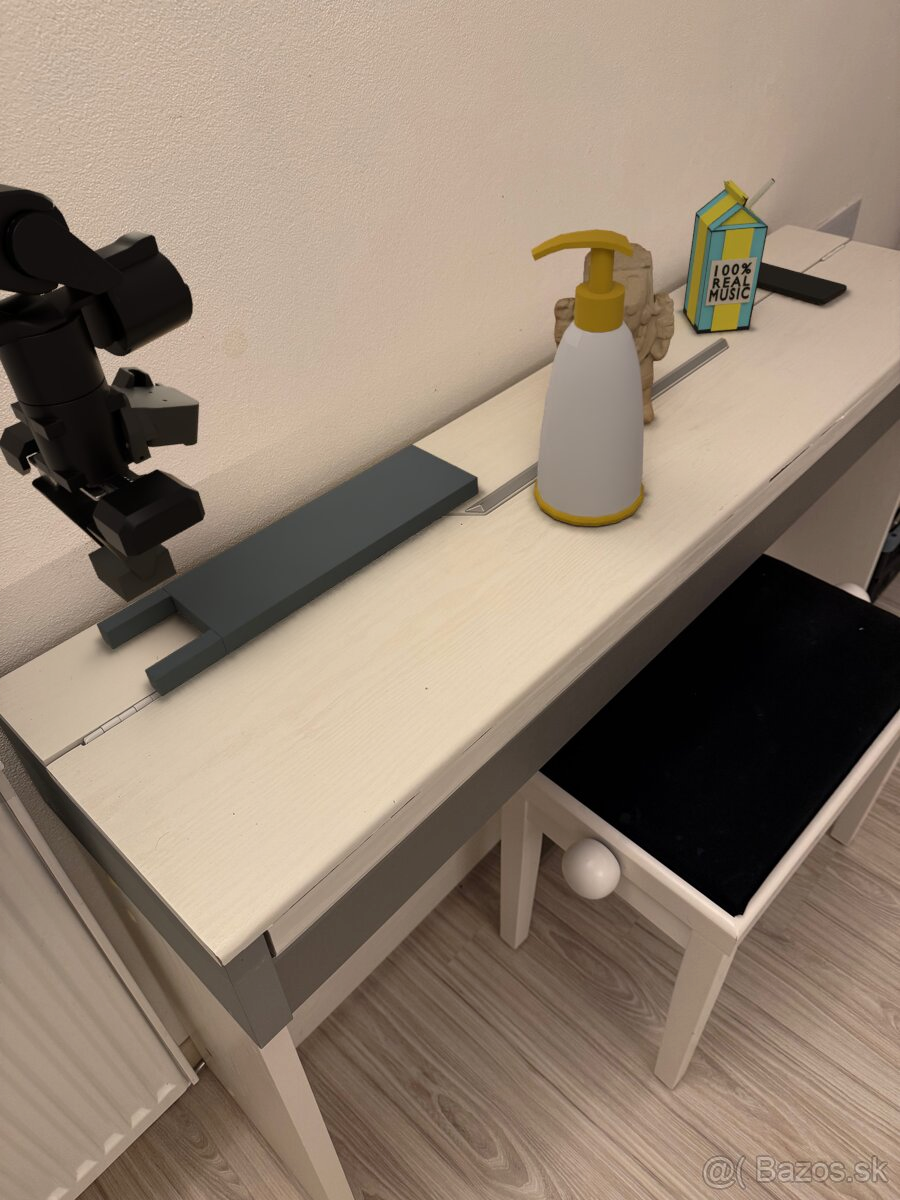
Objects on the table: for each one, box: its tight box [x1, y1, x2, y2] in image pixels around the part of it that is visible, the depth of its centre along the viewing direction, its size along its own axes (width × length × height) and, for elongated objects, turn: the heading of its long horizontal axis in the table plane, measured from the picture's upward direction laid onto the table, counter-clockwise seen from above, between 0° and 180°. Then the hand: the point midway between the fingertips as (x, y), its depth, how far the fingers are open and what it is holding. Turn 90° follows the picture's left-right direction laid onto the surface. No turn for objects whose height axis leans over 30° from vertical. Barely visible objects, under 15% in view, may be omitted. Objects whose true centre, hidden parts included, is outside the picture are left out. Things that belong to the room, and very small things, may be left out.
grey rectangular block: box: [96, 443, 479, 697], centre depth 83 cm, size 38×10×2 cm, turn 135°
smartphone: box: [757, 261, 848, 305], centre depth 123 cm, size 7×1×15 cm
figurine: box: [553, 242, 675, 424], centre depth 92 cm, size 13×7×20 cm, turn 90°
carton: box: [682, 177, 776, 335], centre depth 111 cm, size 7×8×18 cm
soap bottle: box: [530, 228, 645, 527], centre depth 80 cm, size 11×12×26 cm
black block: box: [87, 543, 178, 603], centre depth 68 cm, size 4×4×2 cm
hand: (132, 564), depth 68 cm, fingers closed on black block, 4 cm apart
